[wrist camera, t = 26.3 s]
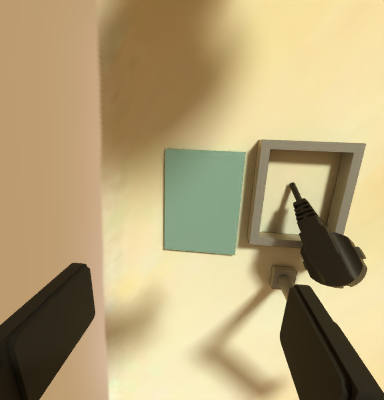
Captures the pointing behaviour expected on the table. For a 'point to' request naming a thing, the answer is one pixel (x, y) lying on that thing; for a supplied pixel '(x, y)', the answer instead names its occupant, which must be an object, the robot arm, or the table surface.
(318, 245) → the power plug
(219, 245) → the mat
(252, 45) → the table surface
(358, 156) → the plug dock
